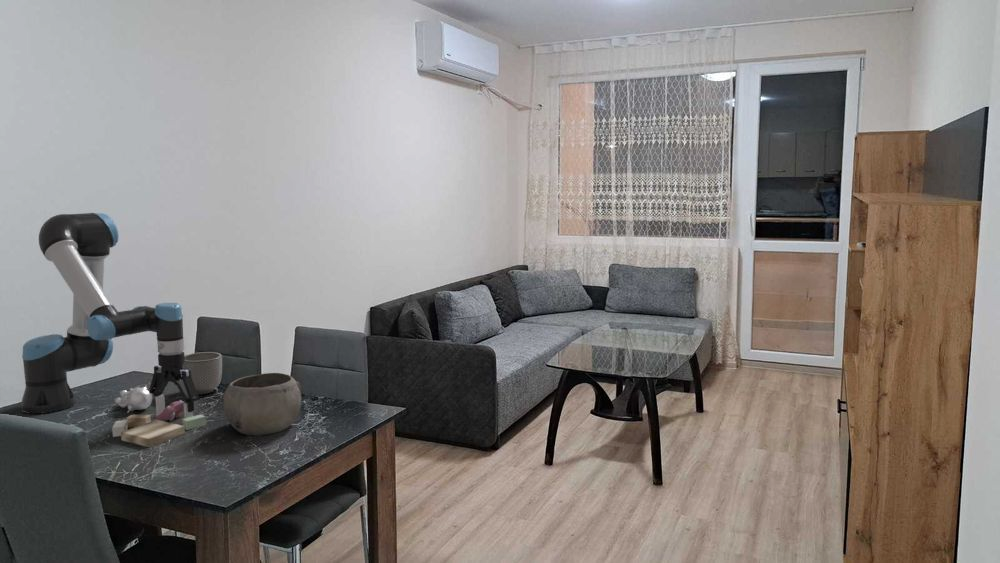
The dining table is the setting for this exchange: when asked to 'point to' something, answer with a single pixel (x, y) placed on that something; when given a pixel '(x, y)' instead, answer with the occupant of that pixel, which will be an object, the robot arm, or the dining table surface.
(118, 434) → the brick white
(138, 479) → the dining table surface
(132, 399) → the figurine
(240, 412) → the bowl
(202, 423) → the brick sage
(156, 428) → the maple slab
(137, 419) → the brick beech
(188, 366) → the planter
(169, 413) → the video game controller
